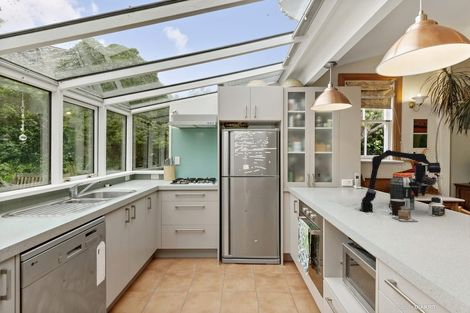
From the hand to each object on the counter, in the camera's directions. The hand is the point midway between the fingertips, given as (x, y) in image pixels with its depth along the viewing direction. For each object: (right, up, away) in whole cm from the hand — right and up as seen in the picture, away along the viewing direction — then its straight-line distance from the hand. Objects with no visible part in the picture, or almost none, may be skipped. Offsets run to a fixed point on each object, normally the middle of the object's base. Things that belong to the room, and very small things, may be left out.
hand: (420, 196), depth 174 cm
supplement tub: (+5, -13, +26) cm, 29 cm away
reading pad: (-16, -13, -9) cm, 23 cm away
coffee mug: (-14, -13, +3) cm, 20 cm away
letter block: (-16, -12, -9) cm, 23 cm away
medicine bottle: (+13, -13, +3) cm, 19 cm away
